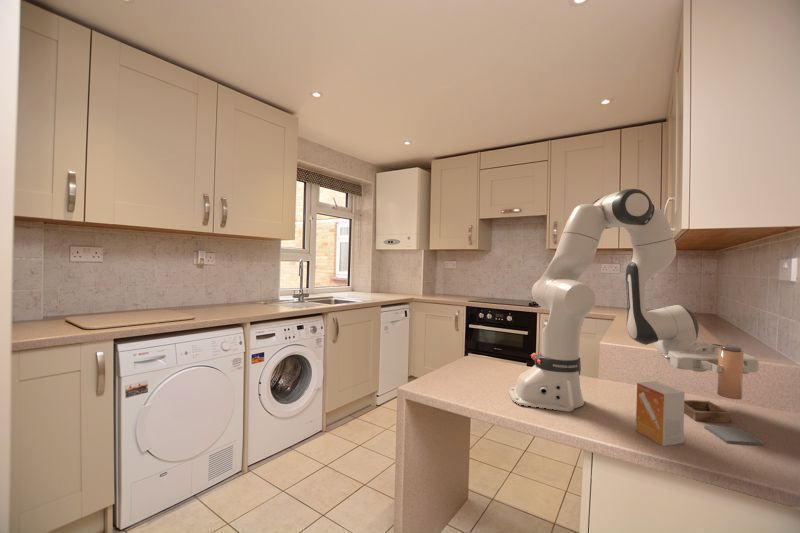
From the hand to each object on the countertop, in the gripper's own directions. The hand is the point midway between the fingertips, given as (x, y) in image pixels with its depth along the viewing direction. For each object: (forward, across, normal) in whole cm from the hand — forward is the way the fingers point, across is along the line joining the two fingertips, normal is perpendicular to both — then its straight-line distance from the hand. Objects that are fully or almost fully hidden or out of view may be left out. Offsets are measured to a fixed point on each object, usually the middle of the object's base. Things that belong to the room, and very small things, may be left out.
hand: (733, 370), depth 94 cm
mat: (+1, 0, +17) cm, 17 cm away
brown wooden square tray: (-12, +1, +17) cm, 21 cm away
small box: (+4, -19, +17) cm, 26 cm away
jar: (-1, 0, +7) cm, 7 cm away
